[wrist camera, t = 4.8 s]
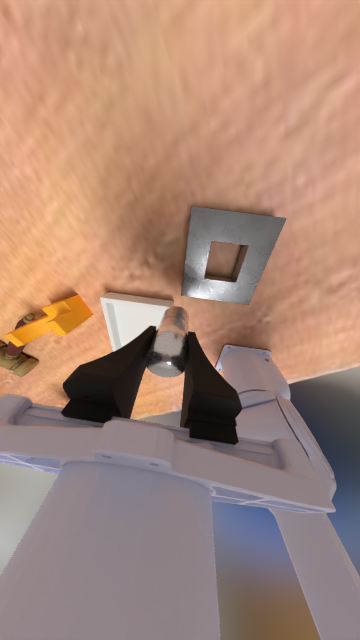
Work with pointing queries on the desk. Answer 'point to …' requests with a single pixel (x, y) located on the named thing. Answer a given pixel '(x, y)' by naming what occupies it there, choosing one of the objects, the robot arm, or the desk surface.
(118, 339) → the tray
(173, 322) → the pin
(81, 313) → the pipe clamp
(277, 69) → the desk surface
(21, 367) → the gavel
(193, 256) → the socket block
